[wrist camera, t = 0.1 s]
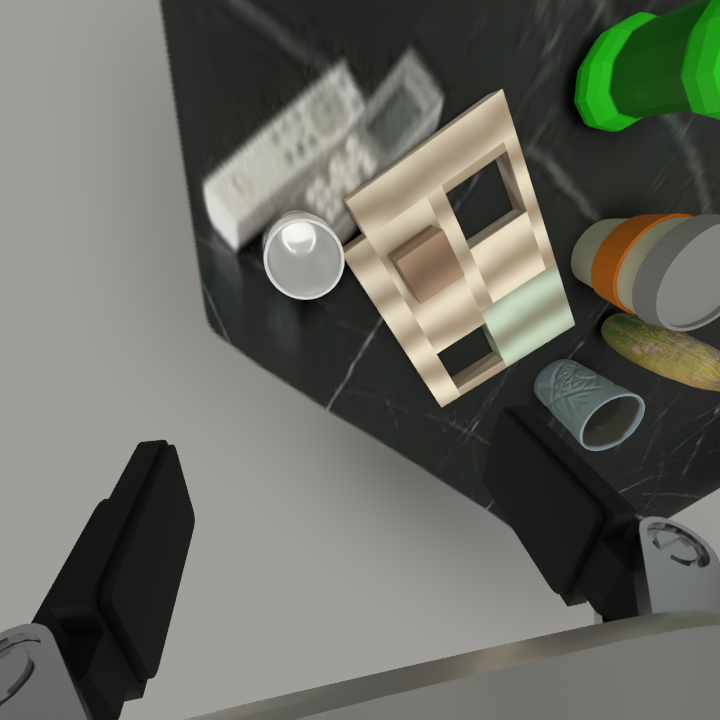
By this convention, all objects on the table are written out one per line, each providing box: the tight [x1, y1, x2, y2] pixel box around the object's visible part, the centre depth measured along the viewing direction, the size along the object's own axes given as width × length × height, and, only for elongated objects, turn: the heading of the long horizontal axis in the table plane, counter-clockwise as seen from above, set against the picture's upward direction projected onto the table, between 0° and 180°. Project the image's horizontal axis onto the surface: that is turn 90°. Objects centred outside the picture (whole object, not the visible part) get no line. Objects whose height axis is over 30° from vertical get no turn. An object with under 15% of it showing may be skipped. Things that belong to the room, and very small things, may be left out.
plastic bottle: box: [574, 0, 720, 132], centre depth 30 cm, size 10×10×25 cm
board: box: [342, 89, 575, 407], centre depth 47 cm, size 32×23×3 cm
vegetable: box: [601, 313, 720, 391], centre depth 48 cm, size 6×6×20 cm
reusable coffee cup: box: [571, 214, 720, 331], centre depth 44 cm, size 13×12×15 cm
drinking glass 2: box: [534, 359, 645, 451], centre depth 56 cm, size 10×10×12 cm
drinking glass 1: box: [264, 210, 344, 299], centre depth 36 cm, size 7×7×15 cm
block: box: [387, 225, 465, 304], centre depth 42 cm, size 6×6×4 cm
